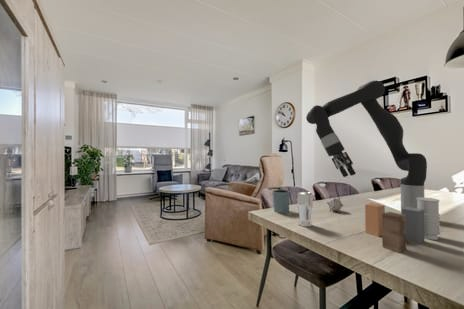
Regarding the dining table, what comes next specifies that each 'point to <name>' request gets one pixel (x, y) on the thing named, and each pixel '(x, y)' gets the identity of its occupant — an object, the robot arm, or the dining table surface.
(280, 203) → the grey-green cup
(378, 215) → the orange block
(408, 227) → the grey block
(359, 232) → the dining table surface
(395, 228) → the walnut block
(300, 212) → the beer glass
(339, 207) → the game die
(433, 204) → the grey ribbed canister
